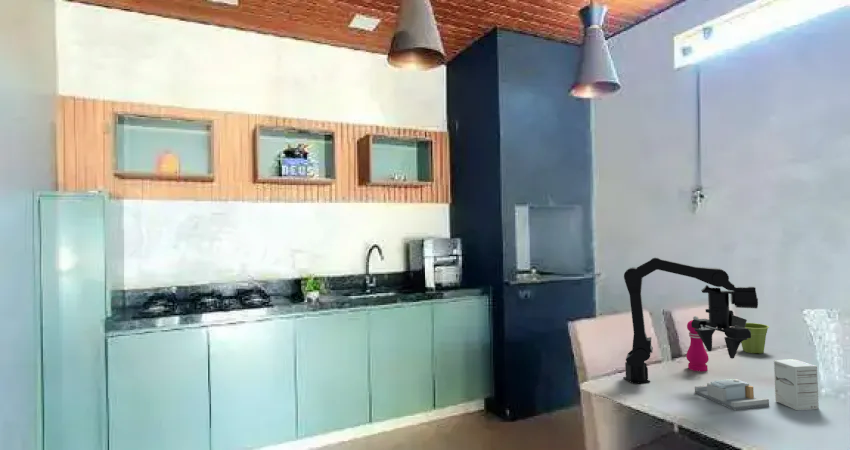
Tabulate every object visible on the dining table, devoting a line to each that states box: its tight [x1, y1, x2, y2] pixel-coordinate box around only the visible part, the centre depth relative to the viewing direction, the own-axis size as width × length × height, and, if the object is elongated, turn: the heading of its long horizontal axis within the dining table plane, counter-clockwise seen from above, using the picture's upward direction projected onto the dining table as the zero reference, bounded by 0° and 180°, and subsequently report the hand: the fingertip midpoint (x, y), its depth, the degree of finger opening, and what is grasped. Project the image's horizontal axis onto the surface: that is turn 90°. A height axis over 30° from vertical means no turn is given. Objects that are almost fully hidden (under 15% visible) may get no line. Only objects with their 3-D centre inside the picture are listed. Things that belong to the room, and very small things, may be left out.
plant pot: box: [740, 322, 770, 354], centre depth 194 cm, size 12×12×11 cm
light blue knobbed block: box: [710, 378, 750, 400], centre depth 141 cm, size 10×4×5 cm, turn 101°
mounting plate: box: [694, 383, 770, 411], centre depth 141 cm, size 12×15×4 cm
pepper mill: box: [685, 315, 710, 372], centre depth 172 cm, size 7×7×20 cm
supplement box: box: [773, 358, 820, 411], centre depth 135 cm, size 7×7×13 cm
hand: (720, 354), depth 149 cm, fingers open, 9 cm apart
